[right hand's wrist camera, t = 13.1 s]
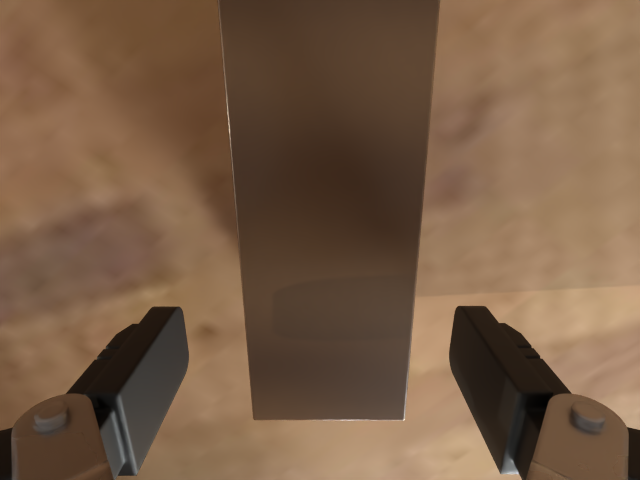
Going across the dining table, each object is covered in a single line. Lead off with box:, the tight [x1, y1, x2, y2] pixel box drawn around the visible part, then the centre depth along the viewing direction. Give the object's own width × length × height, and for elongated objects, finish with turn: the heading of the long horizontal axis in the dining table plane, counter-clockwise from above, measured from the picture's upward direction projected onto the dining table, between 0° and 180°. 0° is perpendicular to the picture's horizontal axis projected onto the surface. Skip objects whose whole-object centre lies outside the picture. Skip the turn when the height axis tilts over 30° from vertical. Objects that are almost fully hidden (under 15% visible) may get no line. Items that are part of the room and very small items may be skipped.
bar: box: [218, 0, 440, 420], centre depth 13 cm, size 26×5×9 cm, turn 1°
